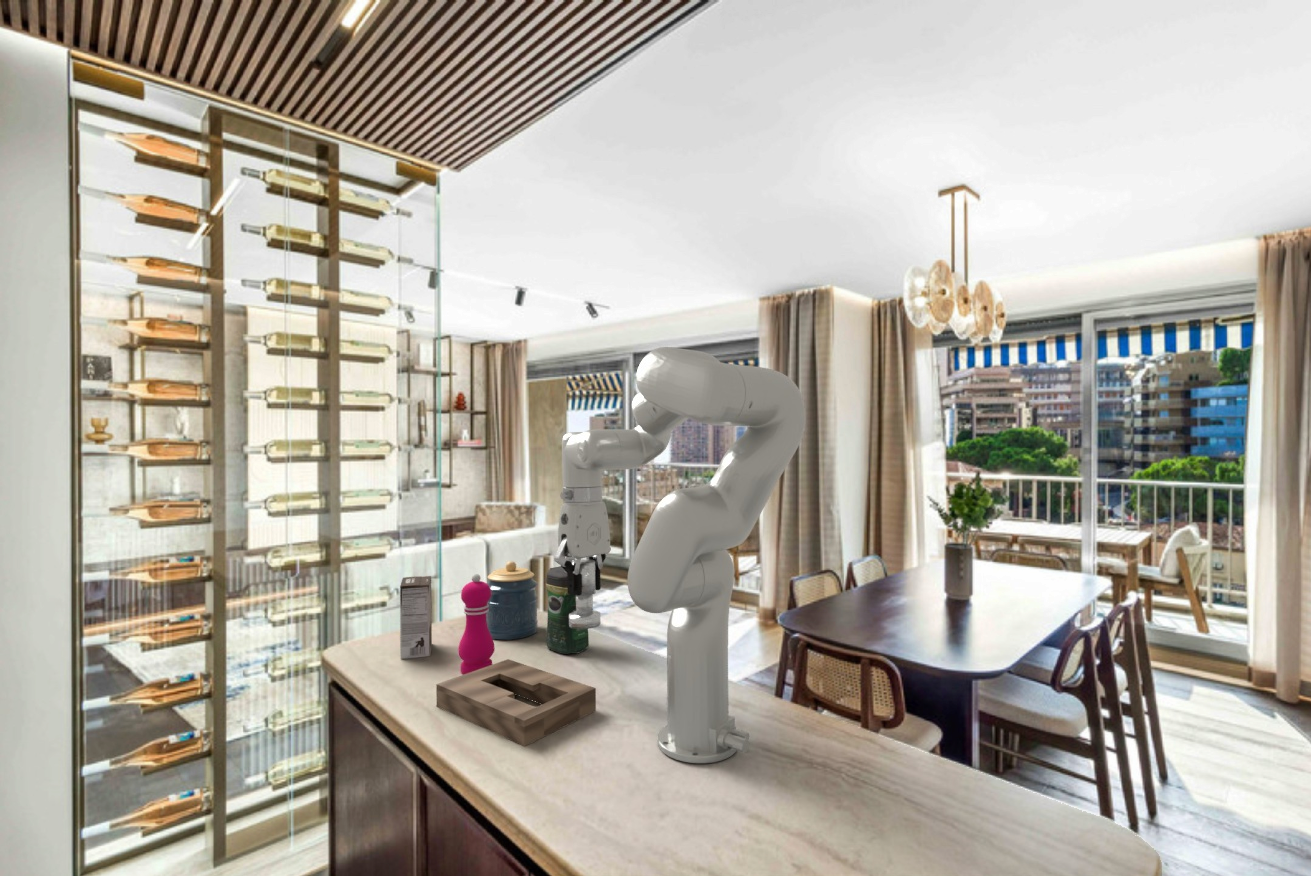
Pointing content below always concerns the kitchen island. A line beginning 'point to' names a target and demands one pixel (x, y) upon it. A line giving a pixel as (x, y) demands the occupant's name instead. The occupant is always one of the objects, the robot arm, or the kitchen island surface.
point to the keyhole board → (494, 706)
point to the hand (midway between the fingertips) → (584, 590)
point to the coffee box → (415, 617)
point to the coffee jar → (562, 616)
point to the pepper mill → (476, 627)
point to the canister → (512, 603)
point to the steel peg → (585, 599)
